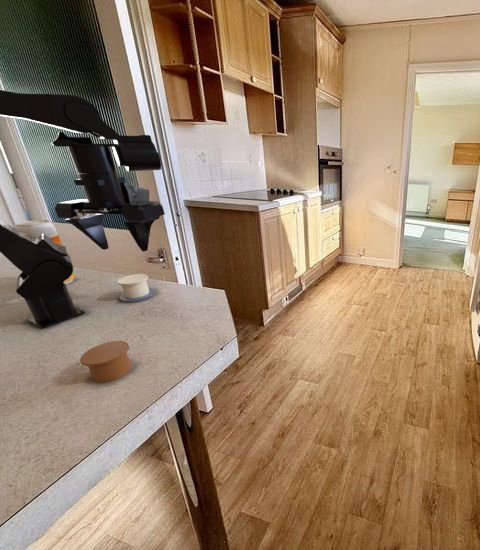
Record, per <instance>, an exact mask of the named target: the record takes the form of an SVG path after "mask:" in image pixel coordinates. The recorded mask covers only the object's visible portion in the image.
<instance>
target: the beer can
mask: <svg viewBox="0 0 480 550" xmlns="http://www.w3.org/2000/svg"><path fill="white" fill-rule="evenodd" d="M14 229H16V230H18V231H19V232H21V233H24V234H26V235H29V236H32V237H34V238H38V237H39V236H40V235H41V234H42V233H44V234H45V235H46V236H48V237H49V238H50V239H51V240H52V241H53V242H55V243H57V244H59V245H62V246H63V243H62V240H61V239H60V237H59V233H58V231H57V229H56V225H54V223H52V222H51V221H50V220H49V219H36V220H26V221H21V222H17V223H15V227H14ZM74 278H75V274H74V271H73V272H72V275H71V276H70V277H69V278H68V279H67V280H65V281H64V283H65V285H67V284H70V283H72V282H73V281H74Z"/></svg>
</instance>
